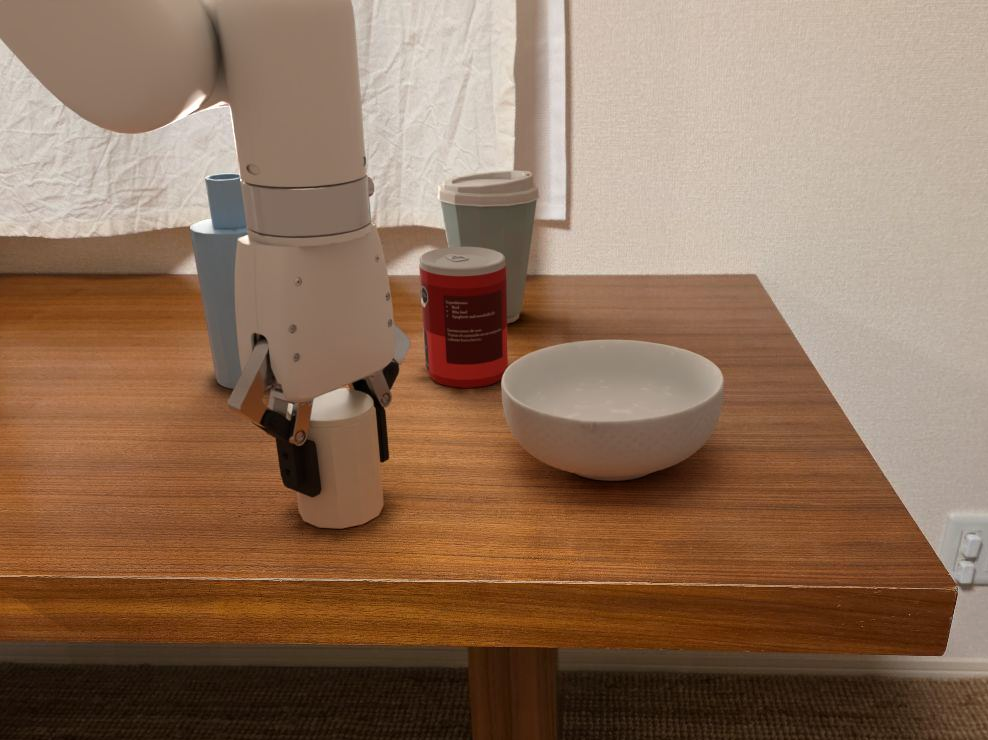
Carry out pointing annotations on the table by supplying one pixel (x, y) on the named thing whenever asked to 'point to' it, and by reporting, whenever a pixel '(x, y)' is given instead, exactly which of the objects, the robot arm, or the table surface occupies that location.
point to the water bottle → (220, 270)
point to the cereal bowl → (612, 406)
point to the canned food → (464, 315)
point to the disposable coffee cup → (493, 221)
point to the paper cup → (344, 461)
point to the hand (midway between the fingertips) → (337, 471)
